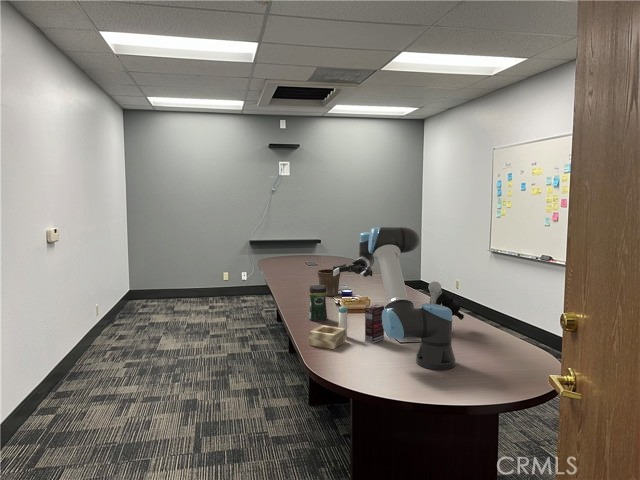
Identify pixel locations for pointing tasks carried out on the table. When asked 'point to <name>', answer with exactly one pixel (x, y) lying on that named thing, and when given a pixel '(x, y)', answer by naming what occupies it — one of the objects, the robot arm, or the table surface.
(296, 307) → the table surface
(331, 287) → the plant pot
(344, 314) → the marker
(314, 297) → the coffee jar
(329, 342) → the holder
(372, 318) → the supplement box
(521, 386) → the table surface
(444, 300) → the sculpture
